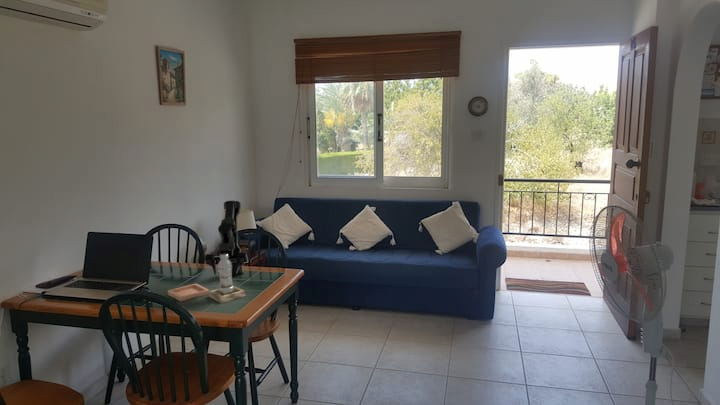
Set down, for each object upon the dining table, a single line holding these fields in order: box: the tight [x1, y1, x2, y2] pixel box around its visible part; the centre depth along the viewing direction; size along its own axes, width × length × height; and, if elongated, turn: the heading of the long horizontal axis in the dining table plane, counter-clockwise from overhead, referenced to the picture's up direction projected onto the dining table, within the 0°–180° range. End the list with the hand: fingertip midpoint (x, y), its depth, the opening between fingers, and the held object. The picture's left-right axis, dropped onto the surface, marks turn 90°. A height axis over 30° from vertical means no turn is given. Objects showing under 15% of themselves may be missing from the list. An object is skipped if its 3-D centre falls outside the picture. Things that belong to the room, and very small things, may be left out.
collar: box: [208, 285, 246, 304], centre depth 223 cm, size 12×12×2 cm
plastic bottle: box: [216, 253, 234, 296], centre depth 221 cm, size 6×7×20 cm
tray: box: [167, 283, 211, 303], centre depth 227 cm, size 14×14×2 cm
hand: (225, 274), depth 221 cm, fingers open, 9 cm apart
